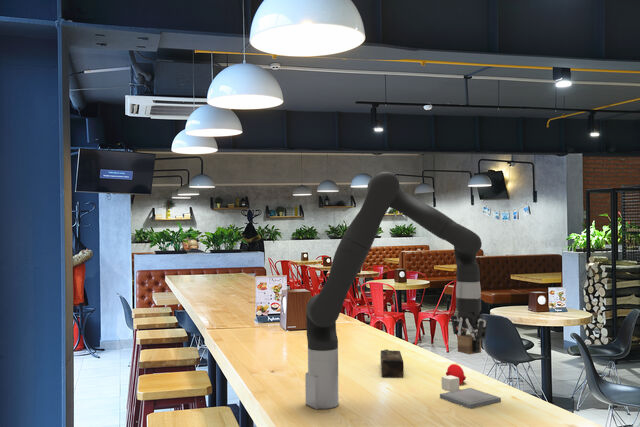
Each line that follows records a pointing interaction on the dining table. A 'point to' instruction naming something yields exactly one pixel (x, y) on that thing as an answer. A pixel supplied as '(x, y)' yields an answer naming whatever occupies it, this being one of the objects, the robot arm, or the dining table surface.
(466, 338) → the walnut block
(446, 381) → the cream block
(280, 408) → the dining table surface
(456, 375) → the red rounded lumpy piece
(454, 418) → the dining table surface
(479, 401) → the plate
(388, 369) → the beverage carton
